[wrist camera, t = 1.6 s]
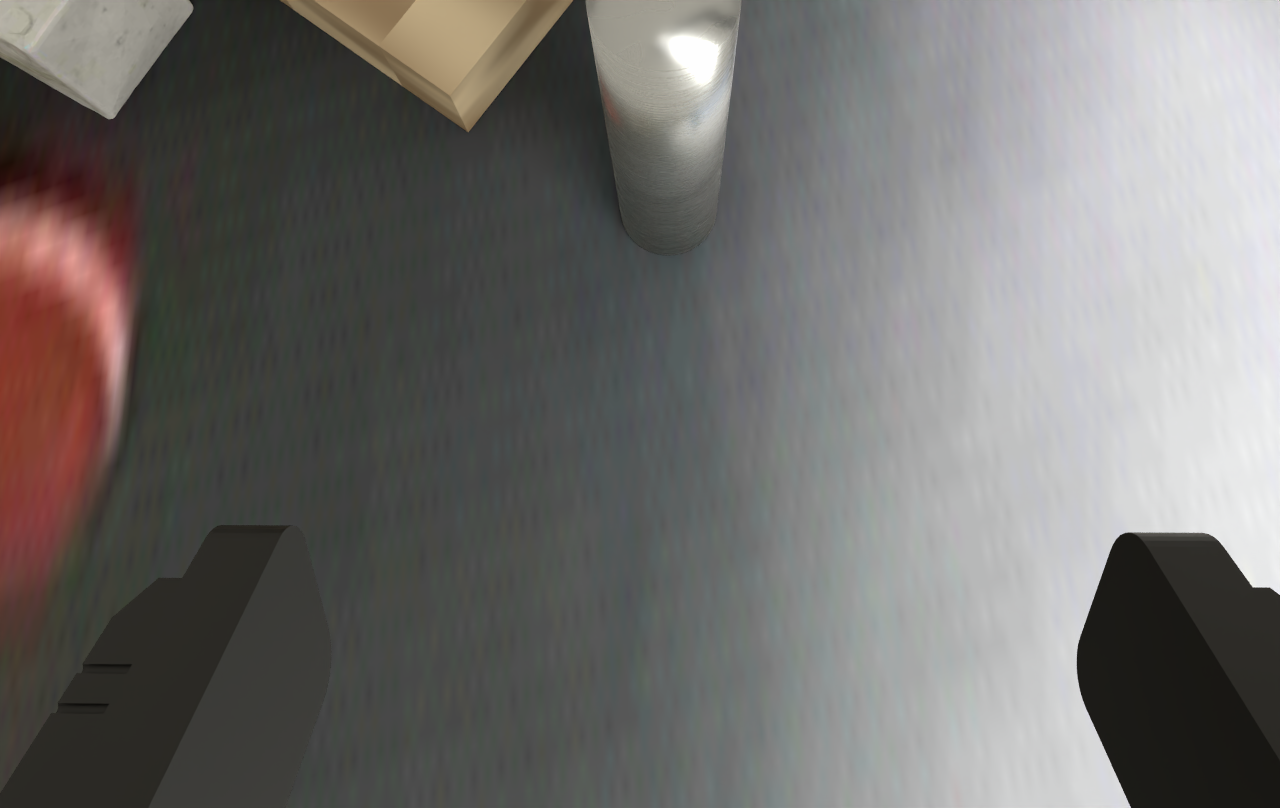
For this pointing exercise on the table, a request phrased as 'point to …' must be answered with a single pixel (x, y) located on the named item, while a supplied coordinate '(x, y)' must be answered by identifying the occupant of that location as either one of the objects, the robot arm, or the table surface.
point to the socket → (440, 44)
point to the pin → (666, 111)
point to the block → (89, 44)
